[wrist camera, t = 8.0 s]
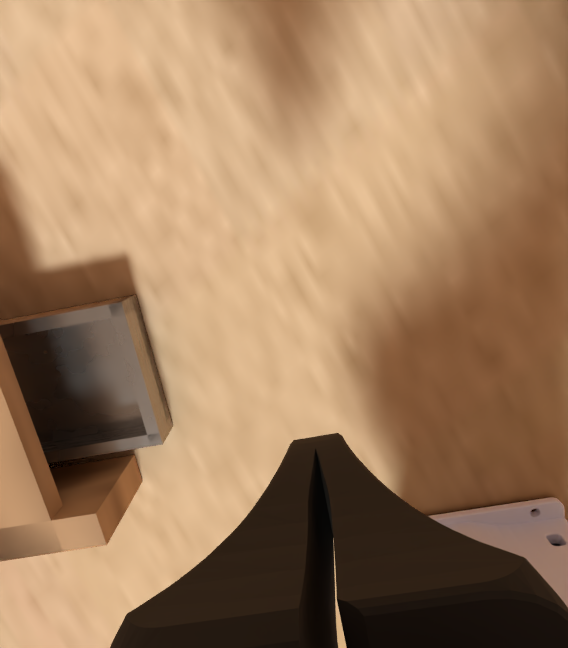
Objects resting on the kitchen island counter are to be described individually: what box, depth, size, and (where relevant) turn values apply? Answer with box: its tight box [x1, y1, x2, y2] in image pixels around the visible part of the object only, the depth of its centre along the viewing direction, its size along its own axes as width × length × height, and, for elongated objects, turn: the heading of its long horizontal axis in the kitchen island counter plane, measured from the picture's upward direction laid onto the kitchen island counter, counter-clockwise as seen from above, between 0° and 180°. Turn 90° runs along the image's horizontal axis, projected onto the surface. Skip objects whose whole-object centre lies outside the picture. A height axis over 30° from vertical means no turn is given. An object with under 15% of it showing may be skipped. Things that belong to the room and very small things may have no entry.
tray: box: [0, 295, 173, 463], centre depth 21 cm, size 10×7×2 cm
